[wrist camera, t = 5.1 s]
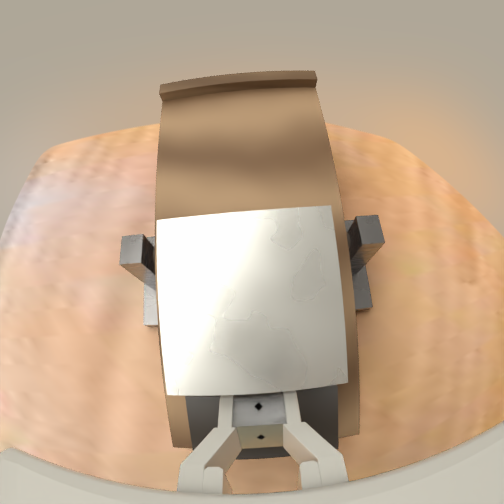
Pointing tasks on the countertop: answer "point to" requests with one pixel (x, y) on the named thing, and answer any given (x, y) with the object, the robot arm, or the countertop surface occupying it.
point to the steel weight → (251, 302)
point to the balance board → (253, 207)
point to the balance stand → (361, 251)
